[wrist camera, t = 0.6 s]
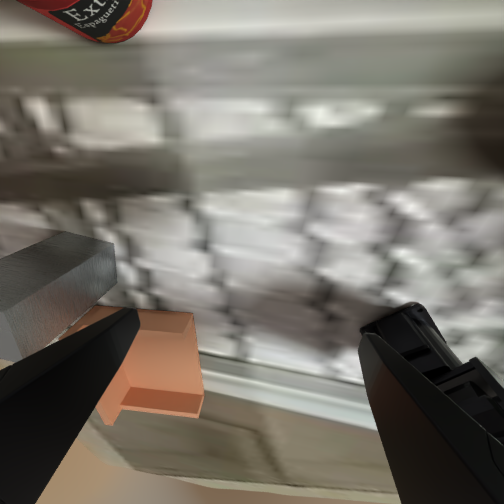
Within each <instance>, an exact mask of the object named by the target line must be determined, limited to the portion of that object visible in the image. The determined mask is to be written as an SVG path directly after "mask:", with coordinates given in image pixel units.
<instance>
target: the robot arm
mask: <svg viewBox="0 0 504 504" xmlns="http://www.w3.org/2000/svg"><path fill="white" fill-rule="evenodd" d="M418 309H419V310H418ZM140 325H141V323H140V319H139V315H138V311H137V309H136V308H132V307H125V308H123V309H121V310H119V311H117V312H115V313H113V314H111V315H109V316H107V317H105V318H103V319H101V320H99V321H97V322H95V323H93V324H91V325H89V326H87V327H85V328H83V329H81V330H79V331H77V332H75V333H73V334H71V335H69V336H67V337H65V338H63V339H61V340H59V341H57V342H55V343H53V344H51V345H49V346H47V347H45V348H43V349H41V350H39V351H37V352H35V353H33V354H31V355H30V356H28V357H26V358H24V359H22V360H20V361H18V362H16V363H14V364H13V365H10V366H8V367H6V368H4V369H2V370H0V504H35V503H36V502H37V500H38V498H39V497H40V495H41V493H42V492H43V490H44V489H45V487H46V485H47V484H48V482H49V481H50V479H51V477H52V476H53V474H54V473H55V471H56V469H57V468H58V466H59V465H60V463H61V461H62V460H63V458H64V457H65V455H66V453H67V452H68V450H69V449H70V447H71V445H72V444H73V442H74V440H75V439H76V437H77V436H78V434H79V432H80V431H81V429H82V428H83V426H84V424H85V423H86V421H87V420H88V418H89V416H90V415H91V413H92V411H93V410H94V408H95V407H96V405H97V403H98V402H99V400H100V399H101V397H102V395H103V394H104V392H105V391H106V389H107V387H108V386H109V384H110V382H111V381H112V379H113V378H114V376H115V374H116V373H117V371H118V370H119V368H120V366H121V364H122V363H123V361H124V359H125V357H126V355H127V353H128V351H129V349H130V347H131V345H132V343H133V341H134V339H135V337H136V335H137V333H138V331H139V329H140ZM365 331H366V332H365ZM360 332H361V334H362V339H361V342H360V345H359V348H358V355H359V360H360V364H361V369H362V374H363V379H364V383H365V388H366V392H367V397H368V400H369V404H370V407H371V410H372V413H373V416H374V419H375V422H376V426H377V429H378V432H379V435H380V438H381V441H382V444H383V447H384V451H385V454H386V457H387V460H388V463H389V466H390V469H391V472H392V476H393V479H394V482H395V485H396V488H397V491H398V494H399V497H400V501H401V504H504V380H503V379H502V378H500V377H499V376H498V375H497V374H496V373H495V372H493V371H492V370H491V369H490V368H489V367H488V366H486V365H485V364H484V363H483V362H482V361H480V360H479V359H478V358H477V357H474V358H472V359H470V360H469V362H467V363H465V364H462V362H461V361H460V360H459V359H458V358H457V356H456V355H455V354H454V353H453V352H452V351H451V349H450V348H449V347H448V346H447V345H446V341H445V339H444V338H443V336H442V335H441V333H440V331H439V330H438V328H437V326H436V325H435V323H434V322H433V320H432V318H431V317H430V315H429V313H428V312H427V310H426V308H425V307H424V306H423V305H422V304H416V305H413V306H411V307H409V308H406V309H404V310H402V311H399V312H397V313H395V314H392V315H390V316H388V317H385V318H383V319H381V320H379V321H376V322H374V323H372V324H369V325H367V326H365V327H362V328H361V329H360Z"/></svg>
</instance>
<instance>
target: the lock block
mask: <svg viewBox="0 0 504 504" xmlns="http://www.w3.org/2000/svg"><path fill="white" fill-rule="evenodd" d="M116 283H117V275H116V262H115V250H114V243H110V242H106V241H102V240H98V239H94V238H90V237H86V236H82V235H78V234H73V233H69V232H63V233H60V234H58V235H56V236H53V237H51V238H48V239H46V240H44V241H41V242H39V243H37V244H34V245H32V246H30V247H27V248H25V249H22V250H20V251H18V252H15V253H13V254H11V255H8V256H6V257H3V258H1V259H0V359H4V360H8V361H12V362H18V361H20V360H22V359H24V358H26V357H28V356H30V355H31V354H33V353H35V352H37V351H39V350H41V349H43V348H44V347H45V346H46V345H48V344H49V343H50V342H51V341H52V340H53V339H54V338H55V337H57V336H58V335H59V334H60V333H61V332H62V331H63V330H65V329H66V328H67V327H68V326H69V325H70V324H71V323H72V322H74V321H75V320H76V319H77V318H78V317H79V316H80V315H81V314H83V313H84V312H85V311H86V310H87V309H88V308H89V307H90V306H92V305H93V304H94V303H95V302H96V301H97V300H98V299H100V298H101V297H102V296H103V295H104V294H105V293H106V292H107V291H109V290H110V289H111V288H112V287H113V286H114V285H115V284H116Z"/></svg>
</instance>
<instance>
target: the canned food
mask: <svg viewBox="0 0 504 504" xmlns="http://www.w3.org/2000/svg"><path fill="white" fill-rule="evenodd" d="M17 1H19V2H21V3H22V4H24V5H26V6H28V7H30V8H32V9H33V10H35V11H37V12H39V13H41V14H43V15H44V16H46V17H48V18H50V19H52V20H54V21H55V22H57V23H59V24H61V25H63V26H65V27H66V28H68V29H70V30H72V31H74V32H76V33H77V34H79V35H81V36H83V37H85V38H88V39H90V40H93V41H96V42H106V43H117V42H122V41H125V40H127V39H129V38H131V37H133V36H134V35H135V34H136V33H137V32H138V31H139V30H140V29H141V28H142V26H143V24H144V23H145V21H146V20H147V17H148V15H149V12H150V9H151V6H152V0H17Z"/></svg>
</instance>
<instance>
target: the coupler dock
mask: <svg viewBox="0 0 504 504" xmlns="http://www.w3.org/2000/svg"><path fill="white" fill-rule="evenodd" d="M121 309H123V308H122V307H109V306H97V305H95V306H94V307H93V308H92V309H91V310H90V311H89V312H87V313H86V314H85V315H84V316H83V317H82V318H81V319H80V320H79V321H78V322H76V323H75V324H74V325H73V326H72V327H71V328H70V329H69V330H68V331H66V332H65V333H64V334H63V335H62V336H61V337H60V338H59V340H61V339H63V338H65V337H67V336H69V335H71V334H73V333H75V332H77V331H79V330H81V329H83V328H85V327H87V326H89V325H91V324H93V323H95V322H97V321H99V320H101V319H103V318H105V317H107V316H109V315H111V314H113V313H115V312H117V311H119V310H121ZM137 311H138V315H139V319H140V323H141V325H140V329H139V331H138V333H137V335H136V337H135V339H134V341H133V343H132V345H131V347H130V349H129V351H128V353H127V355H126V357H125V359H124V361H123V363H122V364H121V366H120V368H119V370H118V371H117V373H116V374H115V376H114V378H113V379H112V381H111V382H110V384H109V386H108V387H107V389H106V391H105V392H104V394H103V395H102V397H101V399H100V400H99V402H98V403H97V405H96V409H97V411H98V412H99V414H100V416H101V418H102V420H103V421H104V423H105V425H113V423H114V422H115V420H116V418H117V417H118V415H119V413H120V411H121V410H122V409H126V410H134V411H142V412H151V413H159V414H168V415H176V416H184V417H193V418H198V417H199V413H200V410H201V406H202V403H203V399H204V396H205V395H204V388H203V381H202V374H201V367H200V360H199V353H198V346H197V339H196V332H195V325H194V318H193V313H184V312H172V311H159V310H147V309H137Z"/></svg>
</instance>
